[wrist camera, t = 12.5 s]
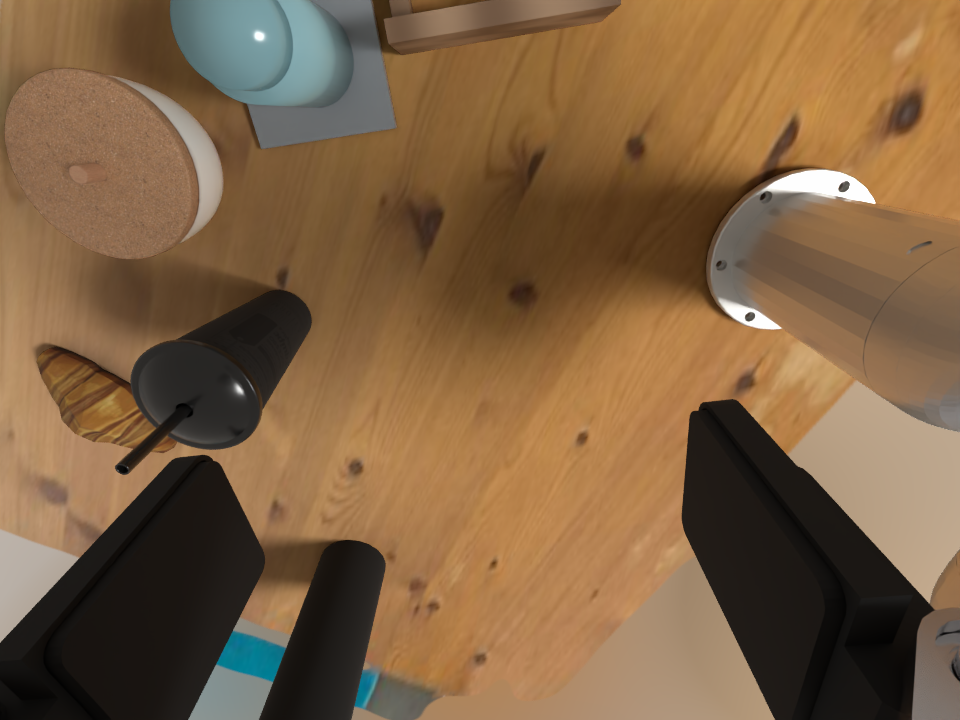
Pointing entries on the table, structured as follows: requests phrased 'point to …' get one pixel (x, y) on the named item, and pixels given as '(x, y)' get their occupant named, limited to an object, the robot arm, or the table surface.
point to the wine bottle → (329, 637)
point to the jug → (266, 50)
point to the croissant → (95, 401)
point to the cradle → (486, 21)
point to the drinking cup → (217, 375)
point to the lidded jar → (112, 162)
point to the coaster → (356, 108)
